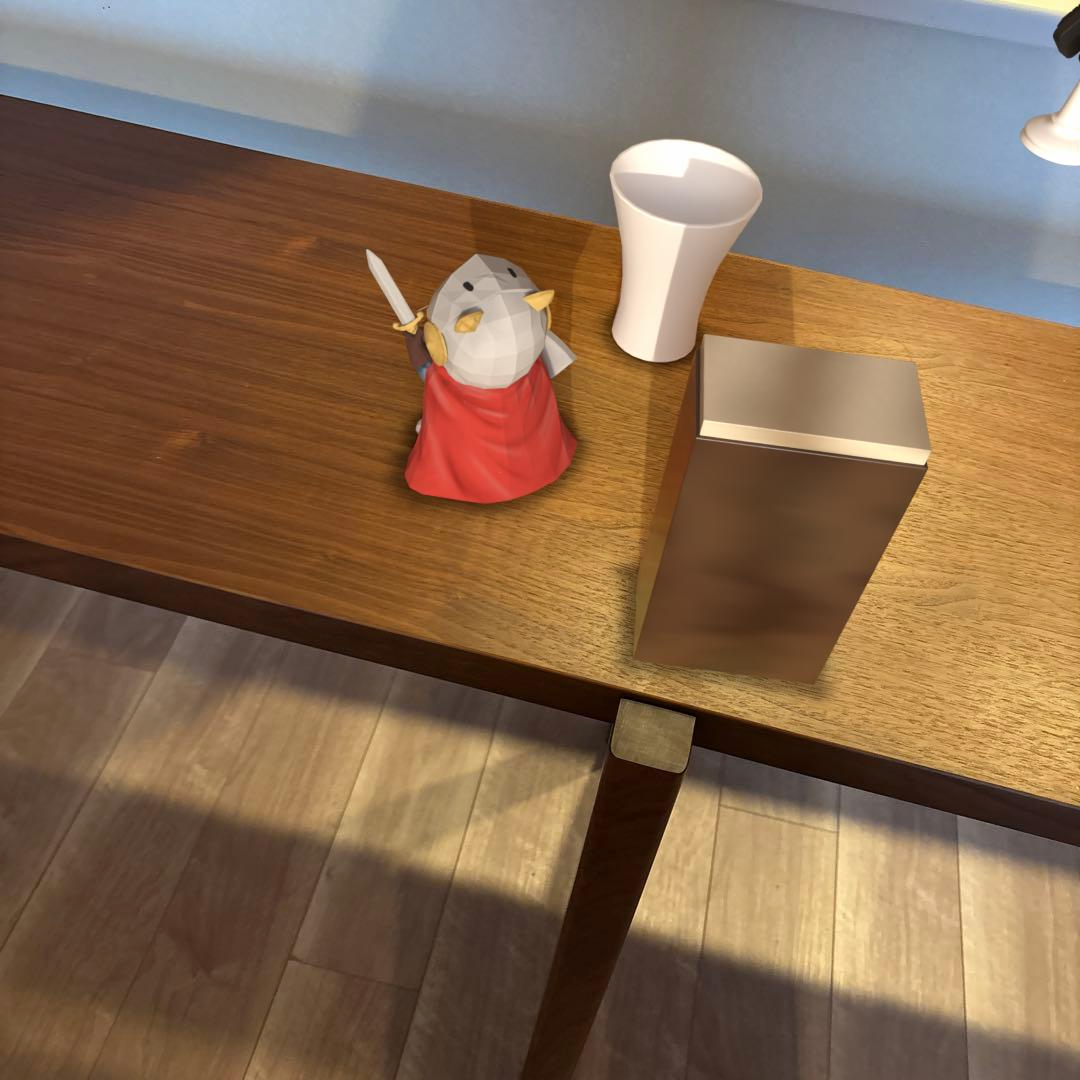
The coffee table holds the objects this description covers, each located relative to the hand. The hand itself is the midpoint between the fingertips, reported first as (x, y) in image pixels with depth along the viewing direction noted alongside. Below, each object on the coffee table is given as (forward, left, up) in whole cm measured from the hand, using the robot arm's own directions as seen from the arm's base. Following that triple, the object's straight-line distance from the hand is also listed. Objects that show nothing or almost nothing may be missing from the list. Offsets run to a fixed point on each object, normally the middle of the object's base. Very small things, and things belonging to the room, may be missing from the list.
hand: (1073, 57), depth 66 cm
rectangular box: (-7, +30, -25) cm, 40 cm away
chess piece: (-1, -2, -6) cm, 6 cm away
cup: (+15, +14, -25) cm, 33 cm away
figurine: (+15, +32, -25) cm, 43 cm away
